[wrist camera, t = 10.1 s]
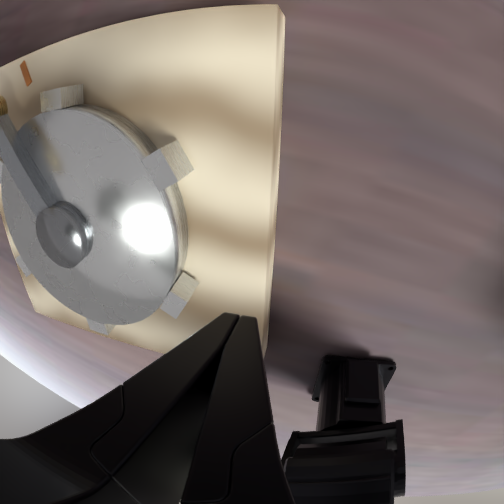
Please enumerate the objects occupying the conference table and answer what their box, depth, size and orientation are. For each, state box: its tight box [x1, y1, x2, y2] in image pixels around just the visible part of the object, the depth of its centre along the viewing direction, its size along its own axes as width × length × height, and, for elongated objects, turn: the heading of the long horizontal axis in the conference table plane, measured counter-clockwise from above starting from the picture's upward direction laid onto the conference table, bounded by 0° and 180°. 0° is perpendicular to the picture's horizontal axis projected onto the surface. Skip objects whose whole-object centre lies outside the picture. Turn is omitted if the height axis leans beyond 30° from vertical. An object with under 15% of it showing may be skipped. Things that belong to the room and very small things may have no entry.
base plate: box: [0, 4, 285, 359], centre depth 21 cm, size 24×24×3 cm
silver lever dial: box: [0, 84, 199, 335], centre depth 16 cm, size 19×16×7 cm
